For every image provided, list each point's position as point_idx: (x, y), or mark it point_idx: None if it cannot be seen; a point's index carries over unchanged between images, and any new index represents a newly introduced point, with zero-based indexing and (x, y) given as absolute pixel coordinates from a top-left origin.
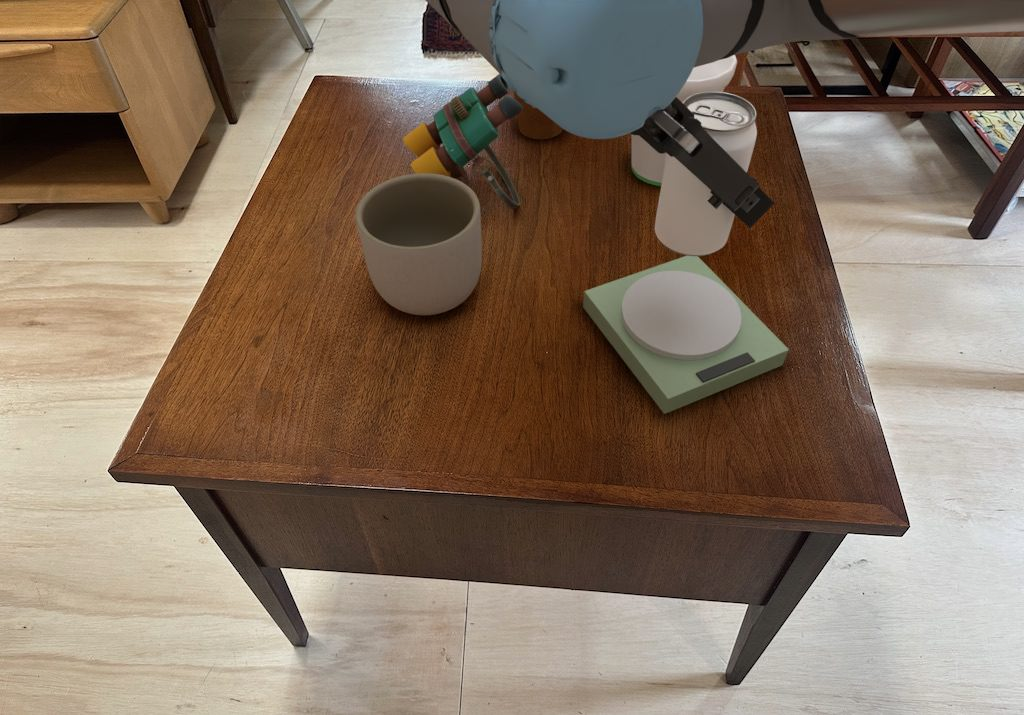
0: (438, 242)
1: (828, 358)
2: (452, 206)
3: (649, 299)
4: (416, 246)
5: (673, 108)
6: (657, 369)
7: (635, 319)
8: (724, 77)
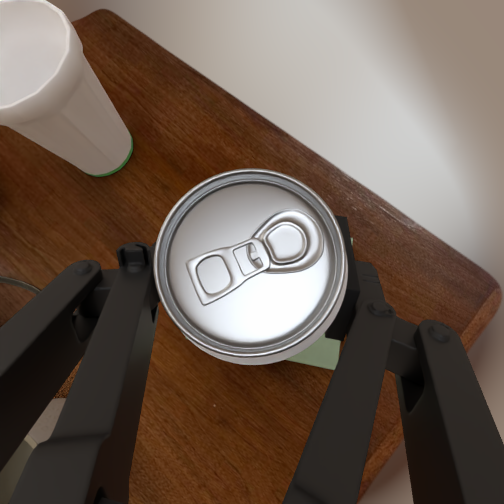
0: None
1: (363, 207)
2: None
3: None
4: None
5: (127, 259)
6: (304, 352)
7: None
8: (73, 43)
